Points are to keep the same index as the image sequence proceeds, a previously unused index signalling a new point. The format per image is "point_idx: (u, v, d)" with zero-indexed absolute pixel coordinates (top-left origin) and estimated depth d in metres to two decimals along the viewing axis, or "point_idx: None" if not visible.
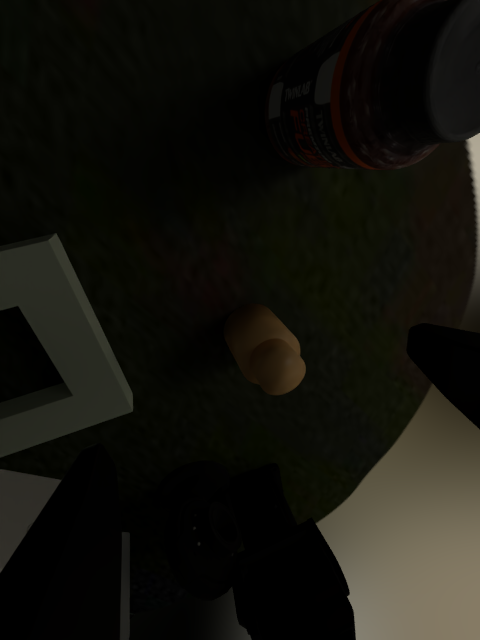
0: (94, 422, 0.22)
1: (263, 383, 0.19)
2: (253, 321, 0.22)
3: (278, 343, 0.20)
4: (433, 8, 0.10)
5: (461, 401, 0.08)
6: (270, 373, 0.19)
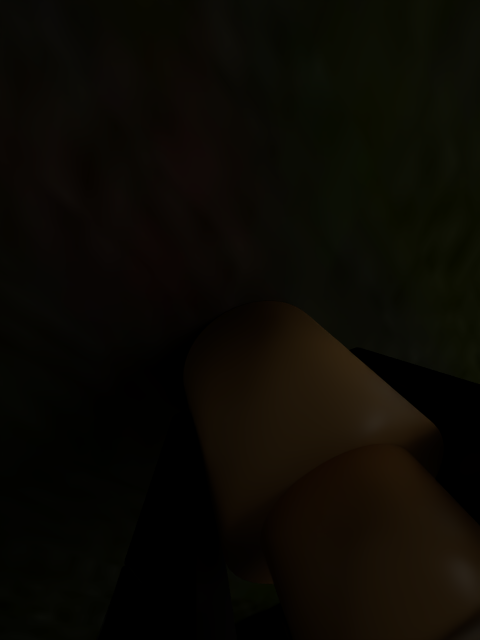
0: None
1: None
2: (275, 364, 0.06)
3: (398, 487, 0.04)
4: None
5: None
6: None
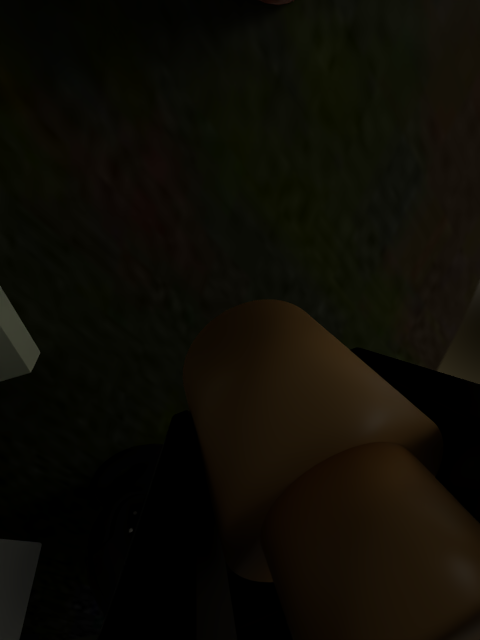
0: None
1: None
2: (276, 362, 0.06)
3: (398, 485, 0.04)
4: None
5: None
6: None
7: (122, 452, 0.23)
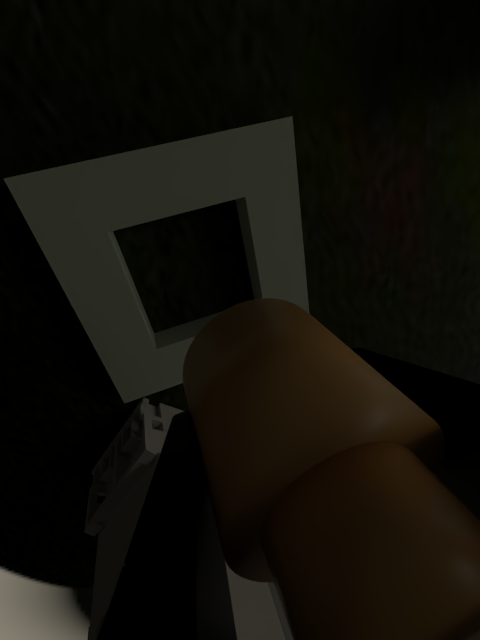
0: None
1: None
2: (276, 360, 0.06)
3: (399, 484, 0.04)
4: None
5: None
6: None
7: None
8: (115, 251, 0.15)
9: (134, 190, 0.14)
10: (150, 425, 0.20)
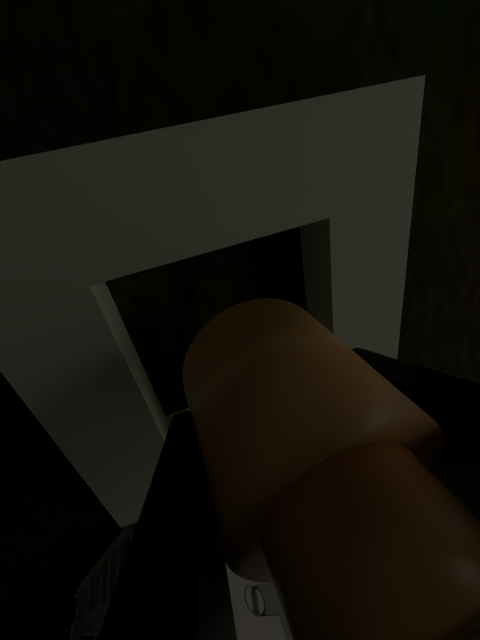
0: None
1: None
2: (275, 361, 0.06)
3: (400, 485, 0.04)
4: None
5: None
6: None
7: None
8: (104, 316, 0.08)
9: (140, 210, 0.07)
10: None
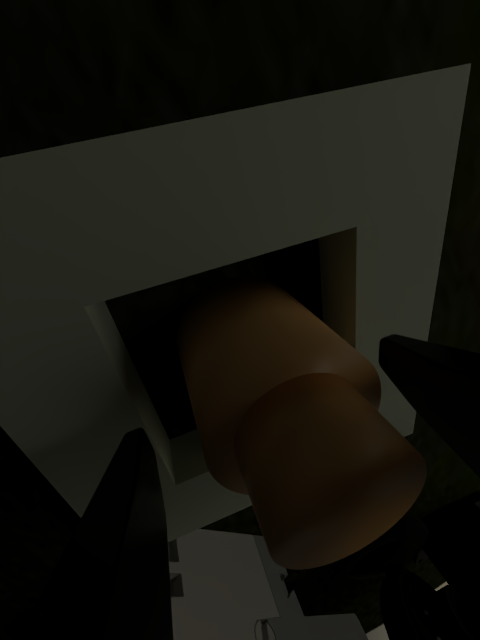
0: None
1: (281, 549, 0.05)
2: (248, 318, 0.07)
3: (331, 396, 0.06)
4: None
5: (429, 415, 0.08)
6: (309, 516, 0.05)
7: None
8: (101, 340, 0.07)
9: (142, 220, 0.06)
10: None
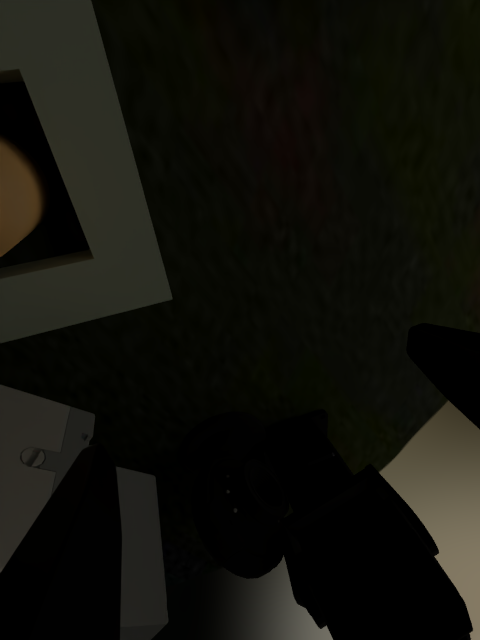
0: (119, 309, 0.16)
1: None
2: None
3: None
4: None
5: (461, 401, 0.08)
6: None
7: (204, 423, 0.24)
8: None
9: None
10: None
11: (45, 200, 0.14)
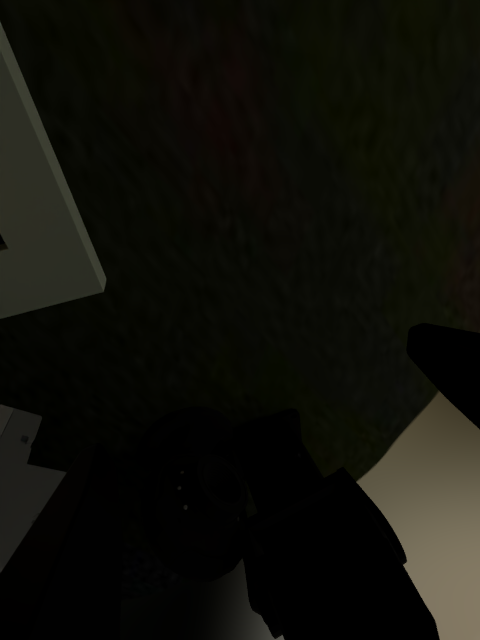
0: (45, 302, 0.15)
1: None
2: None
3: None
4: None
5: (461, 401, 0.08)
6: None
7: (162, 418, 0.23)
8: None
9: None
10: None
11: None
